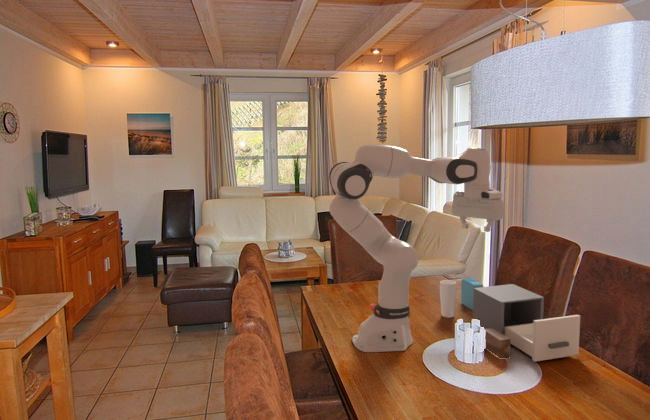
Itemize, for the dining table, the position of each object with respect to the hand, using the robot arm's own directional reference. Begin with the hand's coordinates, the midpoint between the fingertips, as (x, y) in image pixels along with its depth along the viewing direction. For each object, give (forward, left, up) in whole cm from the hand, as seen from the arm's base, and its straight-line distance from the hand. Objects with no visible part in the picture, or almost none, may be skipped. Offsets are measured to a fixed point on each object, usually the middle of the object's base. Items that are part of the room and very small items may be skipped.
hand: (476, 229), depth 167 cm
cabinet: (+15, +1, -41) cm, 44 cm away
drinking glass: (+2, +23, -41) cm, 47 cm away
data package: (+18, +30, -41) cm, 54 cm away
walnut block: (0, -14, -41) cm, 44 cm away
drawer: (+15, -18, -40) cm, 46 cm away
